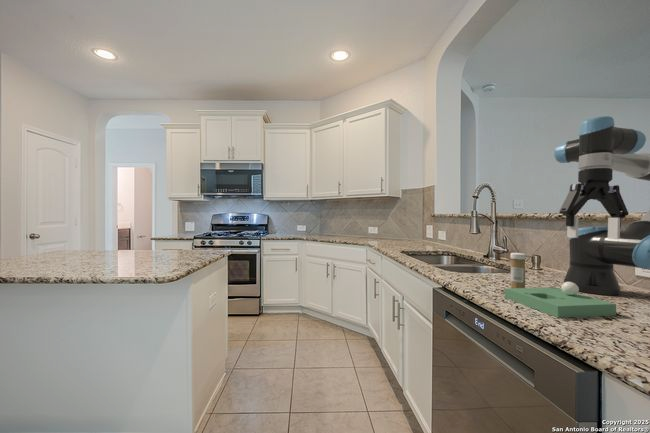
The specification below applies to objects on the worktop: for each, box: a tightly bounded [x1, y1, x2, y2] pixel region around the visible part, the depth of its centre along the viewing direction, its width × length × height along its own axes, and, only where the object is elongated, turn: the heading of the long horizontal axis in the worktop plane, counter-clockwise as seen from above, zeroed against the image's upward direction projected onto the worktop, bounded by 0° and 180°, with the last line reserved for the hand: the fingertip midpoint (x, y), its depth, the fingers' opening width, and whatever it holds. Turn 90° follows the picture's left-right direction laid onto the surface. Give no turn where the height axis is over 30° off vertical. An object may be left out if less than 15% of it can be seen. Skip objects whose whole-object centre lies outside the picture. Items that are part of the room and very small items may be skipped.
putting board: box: [504, 286, 617, 319], centre depth 83 cm, size 18×18×3 cm
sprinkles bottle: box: [509, 252, 527, 288], centre depth 100 cm, size 5×5×14 cm
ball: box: [560, 282, 580, 295], centre depth 83 cm, size 4×4×4 cm
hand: (593, 238), depth 84 cm, fingers open, 13 cm apart
